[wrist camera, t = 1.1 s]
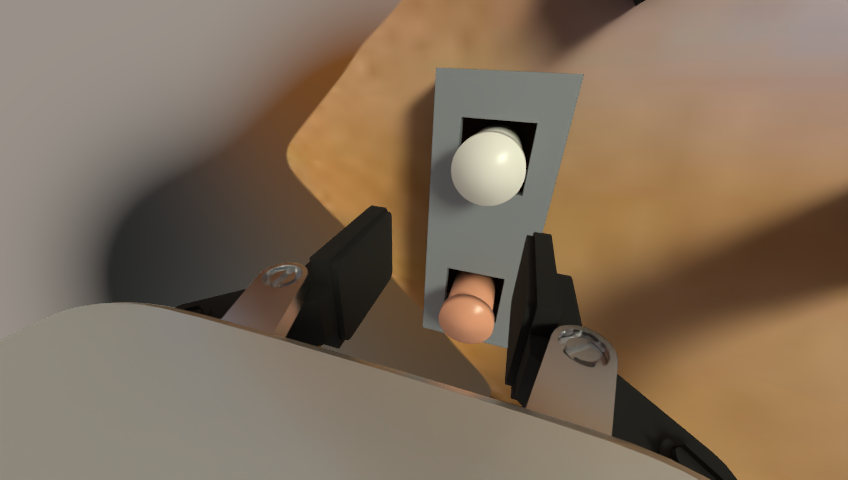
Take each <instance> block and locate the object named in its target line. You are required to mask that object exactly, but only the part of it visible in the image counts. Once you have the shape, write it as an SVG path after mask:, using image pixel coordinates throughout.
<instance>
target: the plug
mask: <svg viewBox="0 0 848 480" xmlns="http://www.w3.org/2000/svg"><path fill="white" fill-rule="evenodd" d="M525 174H526V159H525V155H524V152H523V148H522V143H521V140H520V138H519V136H518V135H517V133H516V132H515V131H514V130H512V129H511V128H509V127H507V126H504V125H490V126H487V127H485V128H483V129H481V130H480V131H479V132H478V133H477V134H474V135H473V136H471V137H469V138H468V139H467V140H466V141H465V142H464V143H463V144H462V145H461V146H460V147H459V148H458V150H457V151H456V153H455V155H454V157H453V160H452V165H451V176H452V180H453V183H454V186H455V187H456V189H457V191H458V192H459V193H460V194H461V195H462V196H463V197H464V198H465V199H467V200H468V201H470V202H472V203H474V204H477V205H481V206H494V205H499V204H502V203H504V202H506V201H508V200H509V199H511V198H512V197H513V196H514V195H515V194H516V193H517V192H518V191H519V190H520V188H521V186H522V184H523V182H524V179H525Z"/></svg>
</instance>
